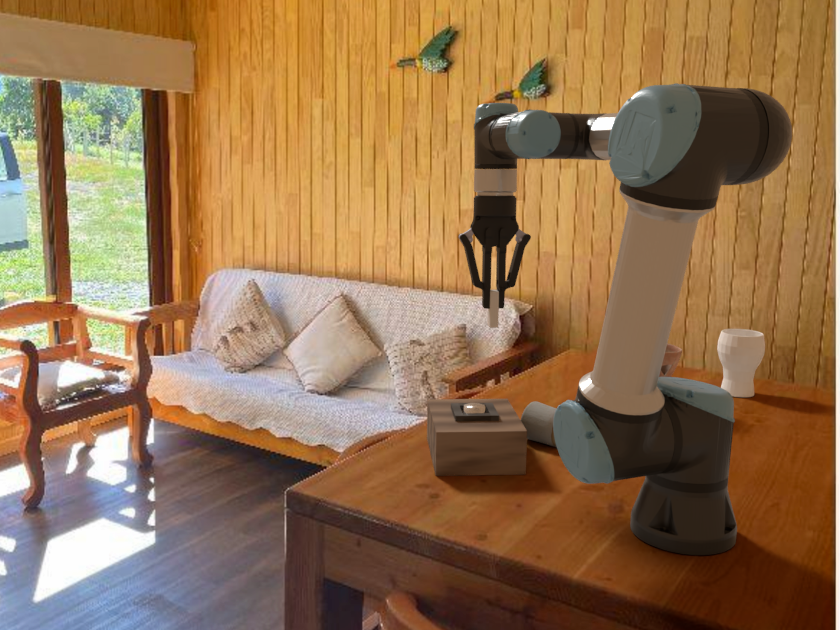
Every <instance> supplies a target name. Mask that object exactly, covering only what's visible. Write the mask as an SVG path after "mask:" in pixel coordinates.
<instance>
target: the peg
mask: <svg viewBox="0 0 840 630" xmlns="http://www.w3.org/2000/svg"><path fill="white" fill-rule="evenodd" d="M464 413H485V405H483V404H480V403H467V404H465V405H464Z"/></svg>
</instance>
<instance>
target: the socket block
mask: <svg viewBox="0 0 840 630" xmlns="http://www.w3.org/2000/svg"><path fill="white" fill-rule="evenodd" d="M426 403H427V405H426V406H427V407H426V408H427V409H426V410H427V411H426V413H427V414H426V440H427V444H428V445H427V446H428V449H429V453H430V456H431V461H432V467H433V470H434V475H435V477H437V476H439V477H440V476H441V477H443V476H445V477H446V476H454V477H455V476H502V475H505V476H506V475H509V476H510V475H519V476H520V475H526V474H527V473H526V471H527V444H528V439H527V430H526V428H525V427H524V425H523V423H522V422H521V418H520V417H519V415H518V414H517V412H516V410H515V408H514V407H513V405H512V404H511V402H510V400H509V399H508V398H455V399H453V398H447V399H446V398H445V399H443V398H441V399H440V398H439V399H438V398H437V399H435V398H434V399H430V398H429V399H428V398H427V401H426ZM467 403H480V404H483V405H485V413H464V405H465V404H467Z"/></svg>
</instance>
